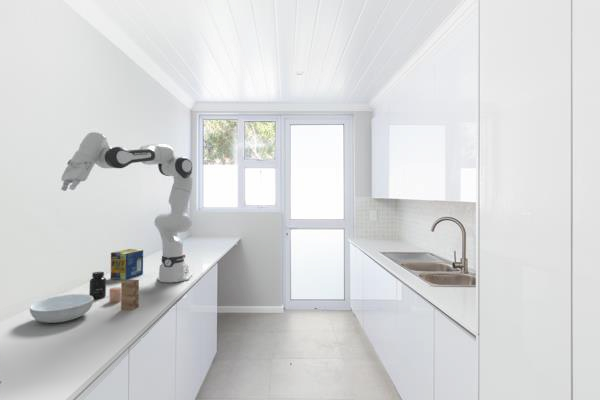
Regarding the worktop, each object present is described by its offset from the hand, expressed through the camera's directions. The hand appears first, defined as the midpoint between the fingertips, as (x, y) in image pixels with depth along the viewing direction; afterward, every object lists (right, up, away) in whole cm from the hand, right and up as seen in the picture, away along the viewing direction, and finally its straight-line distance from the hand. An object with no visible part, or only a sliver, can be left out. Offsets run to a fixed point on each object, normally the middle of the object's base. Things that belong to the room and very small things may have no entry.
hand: (67, 189), depth 152 cm
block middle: (+29, -48, -2) cm, 56 cm away
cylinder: (+18, -52, +7) cm, 55 cm away
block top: (+29, -44, -2) cm, 53 cm away
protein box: (-1, -51, +55) cm, 75 cm away
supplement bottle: (+6, -52, +13) cm, 54 cm away
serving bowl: (+9, -52, -15) cm, 55 cm away
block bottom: (+29, -52, -2) cm, 59 cm away
